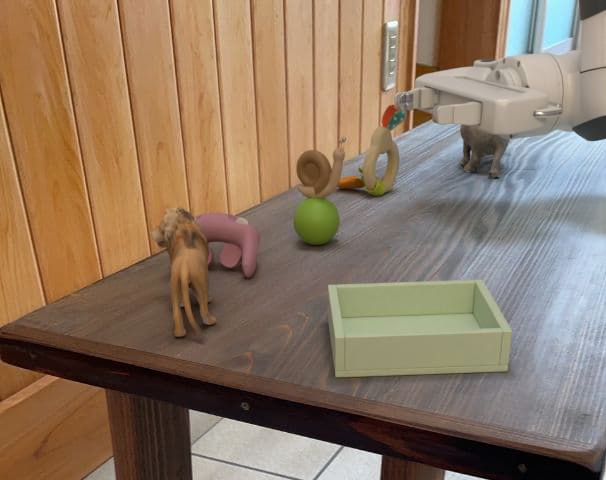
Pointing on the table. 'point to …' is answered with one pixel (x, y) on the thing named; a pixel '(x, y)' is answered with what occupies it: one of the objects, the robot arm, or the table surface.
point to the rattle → (379, 145)
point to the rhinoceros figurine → (481, 149)
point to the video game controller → (231, 240)
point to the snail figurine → (318, 195)
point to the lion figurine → (185, 265)
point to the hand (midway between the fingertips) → (415, 108)
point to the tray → (416, 329)
